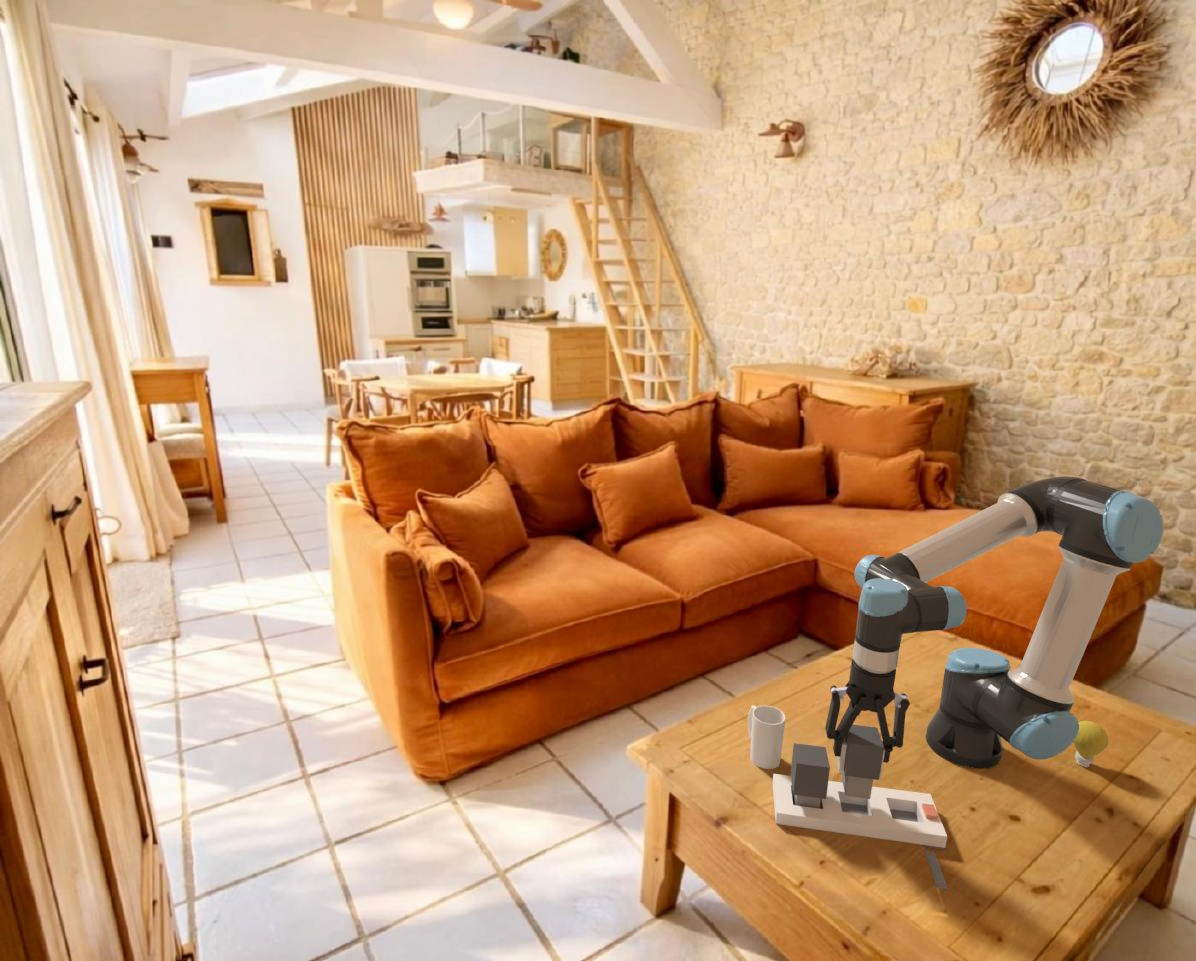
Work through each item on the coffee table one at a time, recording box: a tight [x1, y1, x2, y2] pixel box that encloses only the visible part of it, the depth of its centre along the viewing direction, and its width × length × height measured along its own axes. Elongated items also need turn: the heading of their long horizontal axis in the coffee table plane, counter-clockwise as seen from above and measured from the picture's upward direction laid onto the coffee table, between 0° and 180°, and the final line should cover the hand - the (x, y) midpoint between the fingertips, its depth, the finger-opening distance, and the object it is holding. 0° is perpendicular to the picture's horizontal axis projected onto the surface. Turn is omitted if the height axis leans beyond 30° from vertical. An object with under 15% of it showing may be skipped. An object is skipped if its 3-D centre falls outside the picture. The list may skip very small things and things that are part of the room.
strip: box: [771, 773, 948, 851], centre depth 132 cm, size 30×11×4 cm, turn 80°
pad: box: [923, 850, 949, 890], centre depth 121 cm, size 8×8×1 cm
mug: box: [747, 704, 786, 770], centre depth 147 cm, size 10×7×12 cm, turn 23°
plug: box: [841, 724, 884, 799], centre depth 129 cm, size 6×6×12 cm
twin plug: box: [790, 743, 831, 809], centre depth 132 cm, size 6×6×12 cm
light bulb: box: [1072, 720, 1109, 768], centre depth 147 cm, size 7×7×10 cm
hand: (858, 772), depth 129 cm, fingers closed on plug, 6 cm apart
